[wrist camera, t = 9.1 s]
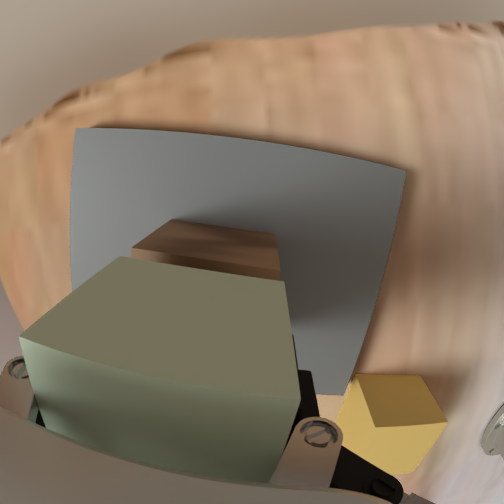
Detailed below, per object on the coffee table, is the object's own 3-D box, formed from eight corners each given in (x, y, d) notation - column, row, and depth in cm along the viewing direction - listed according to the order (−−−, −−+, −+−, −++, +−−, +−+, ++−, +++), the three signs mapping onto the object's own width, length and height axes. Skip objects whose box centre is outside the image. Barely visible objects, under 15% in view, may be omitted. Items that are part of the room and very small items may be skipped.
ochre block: (419, 374, 23) (448, 422, 17) (393, 424, 24) (412, 472, 19) (355, 372, 23) (375, 427, 17) (333, 425, 24) (344, 478, 19)
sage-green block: (284, 281, 11) (300, 399, 6) (258, 407, 13) (253, 526, 7) (119, 255, 11) (18, 336, 5) (124, 382, 13) (70, 483, 7)
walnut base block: (275, 234, 18) (280, 270, 13) (259, 327, 20) (257, 389, 14) (170, 219, 18) (131, 247, 12) (165, 312, 20) (133, 367, 14)
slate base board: (396, 169, 18) (406, 170, 17) (339, 383, 23) (343, 395, 21) (87, 129, 18) (75, 127, 17) (87, 341, 23) (79, 351, 21)
